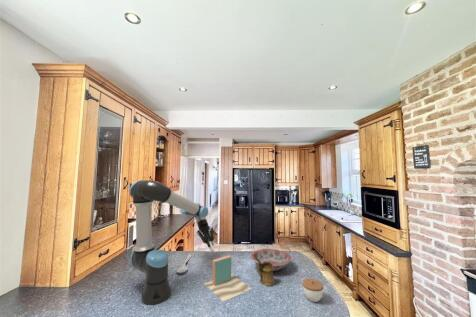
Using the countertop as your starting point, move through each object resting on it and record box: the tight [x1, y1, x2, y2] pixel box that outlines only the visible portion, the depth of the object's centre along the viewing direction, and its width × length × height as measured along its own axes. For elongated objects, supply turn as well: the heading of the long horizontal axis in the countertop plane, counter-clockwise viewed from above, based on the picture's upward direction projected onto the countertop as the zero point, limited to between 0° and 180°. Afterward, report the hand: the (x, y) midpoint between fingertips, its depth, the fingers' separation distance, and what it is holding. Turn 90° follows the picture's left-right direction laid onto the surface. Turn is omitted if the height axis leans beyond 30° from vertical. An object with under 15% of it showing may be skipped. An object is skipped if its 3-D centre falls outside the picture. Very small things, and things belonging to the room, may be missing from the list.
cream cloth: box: [204, 273, 253, 302], centre depth 117 cm, size 22×20×1 cm
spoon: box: [175, 253, 192, 274], centre depth 149 cm, size 35×8×3 cm, turn 2°
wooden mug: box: [253, 254, 275, 287], centre depth 123 cm, size 9×14×18 cm, turn 97°
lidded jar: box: [301, 278, 324, 303], centre depth 106 cm, size 11×11×9 cm
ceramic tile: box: [212, 254, 232, 286], centre depth 123 cm, size 3×12×14 cm, turn 127°
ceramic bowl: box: [250, 248, 292, 272], centre depth 143 cm, size 29×29×8 cm
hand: (212, 251), depth 134 cm, fingers closed
